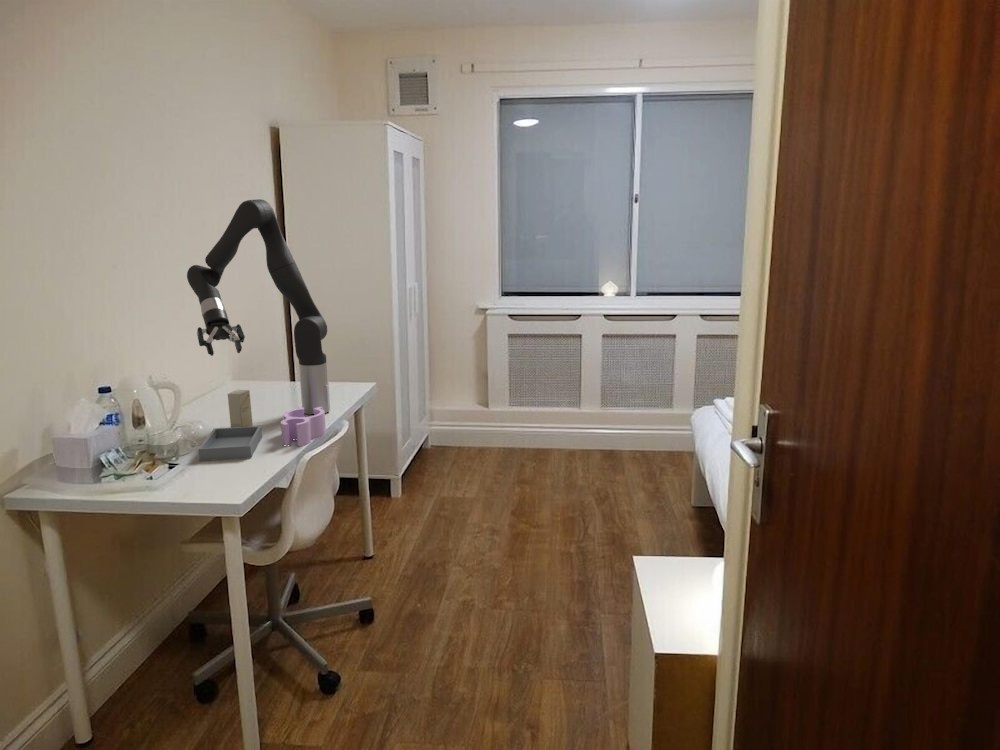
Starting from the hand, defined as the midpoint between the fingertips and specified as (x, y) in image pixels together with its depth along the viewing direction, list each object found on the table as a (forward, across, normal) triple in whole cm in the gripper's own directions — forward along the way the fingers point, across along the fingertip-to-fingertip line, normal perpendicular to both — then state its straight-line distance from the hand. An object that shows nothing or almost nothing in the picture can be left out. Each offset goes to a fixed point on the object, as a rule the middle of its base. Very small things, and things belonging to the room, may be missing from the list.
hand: (225, 353), depth 238 cm
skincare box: (+25, 0, +8) cm, 26 cm away
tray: (+38, -8, -6) cm, 39 cm away
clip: (+39, +13, -6) cm, 41 cm away
